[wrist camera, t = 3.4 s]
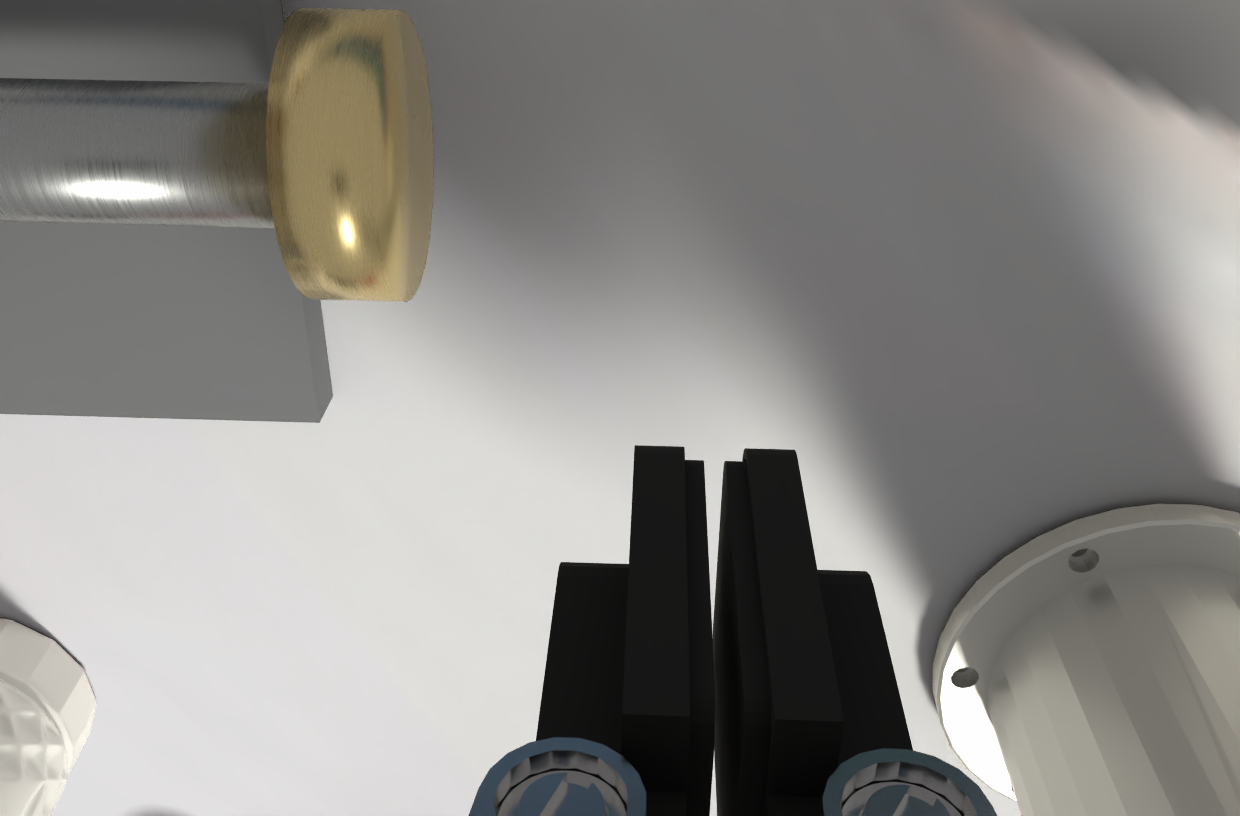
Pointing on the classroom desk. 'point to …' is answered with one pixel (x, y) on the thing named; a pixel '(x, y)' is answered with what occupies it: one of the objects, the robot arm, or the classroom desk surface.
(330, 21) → the shaft
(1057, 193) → the classroom desk surface
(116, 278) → the base mat
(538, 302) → the classroom desk surface
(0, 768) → the white cup
